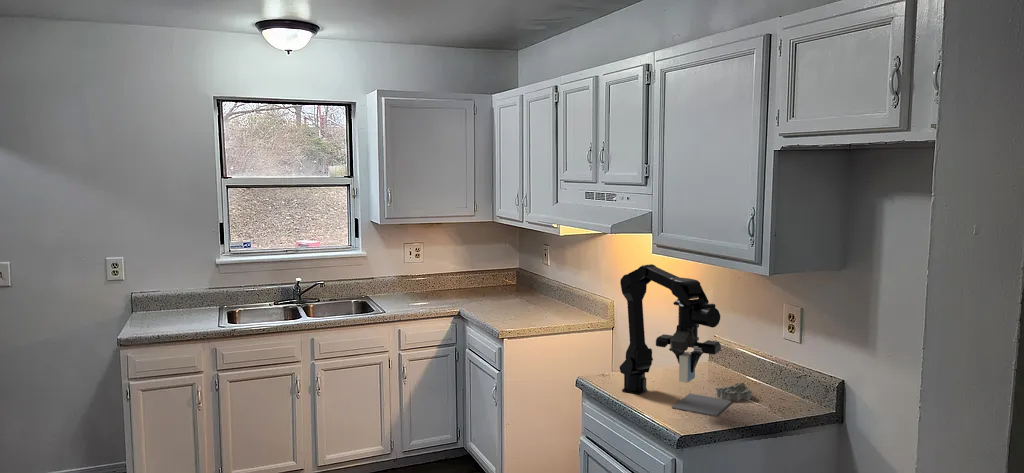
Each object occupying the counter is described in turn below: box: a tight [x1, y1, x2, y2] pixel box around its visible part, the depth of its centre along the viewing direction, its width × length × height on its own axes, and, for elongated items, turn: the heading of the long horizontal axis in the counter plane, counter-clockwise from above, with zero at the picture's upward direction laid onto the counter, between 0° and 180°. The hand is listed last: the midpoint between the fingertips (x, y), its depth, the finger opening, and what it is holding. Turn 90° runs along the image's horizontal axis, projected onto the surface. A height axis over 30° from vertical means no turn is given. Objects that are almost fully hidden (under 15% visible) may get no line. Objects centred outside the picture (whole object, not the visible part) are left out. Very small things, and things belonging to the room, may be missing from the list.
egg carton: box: [714, 382, 753, 402], centre depth 231 cm, size 11×8×4 cm
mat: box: [671, 393, 733, 417], centre depth 224 cm, size 14×16×1 cm
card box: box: [678, 351, 696, 384], centre depth 216 cm, size 3×6×8 cm, turn 145°
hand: (687, 371), depth 217 cm, fingers closed on card box, 3 cm apart
